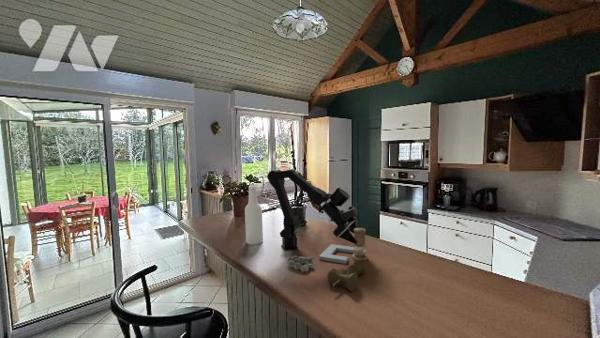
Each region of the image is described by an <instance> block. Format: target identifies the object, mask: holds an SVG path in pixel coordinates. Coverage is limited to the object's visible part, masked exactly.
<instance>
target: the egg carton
mask: <svg viewBox="0 0 600 338" xmlns="http://www.w3.org/2000/svg"><path fill="white" fill-rule="evenodd" d="M286 260H287V267H288V268H294V270H300V272H308V271H309V269H313V268H314V260H315V257H313V256H308V257H305V256H298V255H291V256H290V257H288V258H286Z"/></svg>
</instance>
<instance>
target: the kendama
mask: <svg viewBox="0 0 600 338" xmlns="http://www.w3.org/2000/svg"><path fill="white" fill-rule="evenodd" d="M365 272H366V265H365V263H364V261H356V260H354V262H353V264H350V265H349V267H348V271H347V272H346V273H345V274H344V273H340V271H338V270H337V269H336V268H334V267H333V268H330V269H329V271H328V273H327V283H328V284H329V285H331V287H336V286H337V285H342V286H344V287H346V288H347V290H348V291H349V292H351V293H353V292H355V291H356V289H357V287H358V282H359V278H358V277H359V276H360V275H362V274H365Z"/></svg>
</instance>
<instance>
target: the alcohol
mask: <svg viewBox="0 0 600 338" xmlns="http://www.w3.org/2000/svg"><path fill="white" fill-rule="evenodd" d="M244 221H245V224H244V225H245V243H246V244H247V245H249V246H257V245H260V244H262V243H263V241H264V232H263V231H264V230H263V229H264V228H263V210H262V206H261V204H260V203H259V201H258V194H257V186H256V185H249V186H248V203H247V204H246V206H245V207H244Z"/></svg>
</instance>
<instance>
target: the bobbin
mask: <svg viewBox="0 0 600 338" xmlns="http://www.w3.org/2000/svg"><path fill="white" fill-rule="evenodd" d="M366 232H367V230H366V228H364V227H358V228H355V229H354V233H353V237H354V238H355V239H356V241H357V243H356V244H354V243H353V247H354V253H352V256H351V257H352V260H354V261H361V262H366V261H368V255H367V253H366V251H367V250H366V247H367V246H366Z"/></svg>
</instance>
